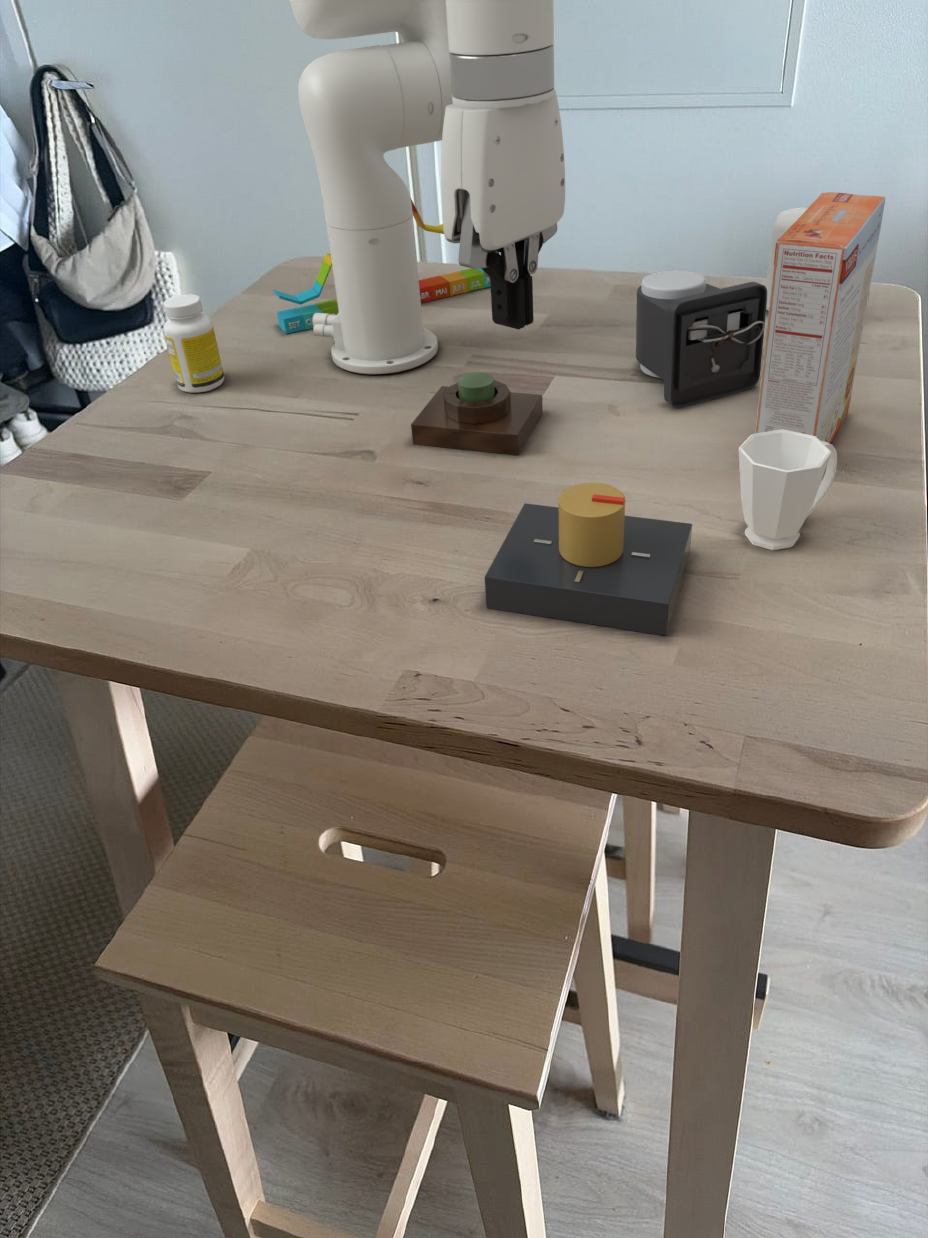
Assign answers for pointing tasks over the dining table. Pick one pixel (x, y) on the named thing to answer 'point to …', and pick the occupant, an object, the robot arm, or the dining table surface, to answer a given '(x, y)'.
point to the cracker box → (818, 314)
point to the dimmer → (591, 524)
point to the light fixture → (699, 335)
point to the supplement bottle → (192, 345)
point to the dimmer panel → (590, 574)
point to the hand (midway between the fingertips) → (512, 322)
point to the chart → (304, 315)
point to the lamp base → (478, 421)
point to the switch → (476, 387)
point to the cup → (782, 484)
